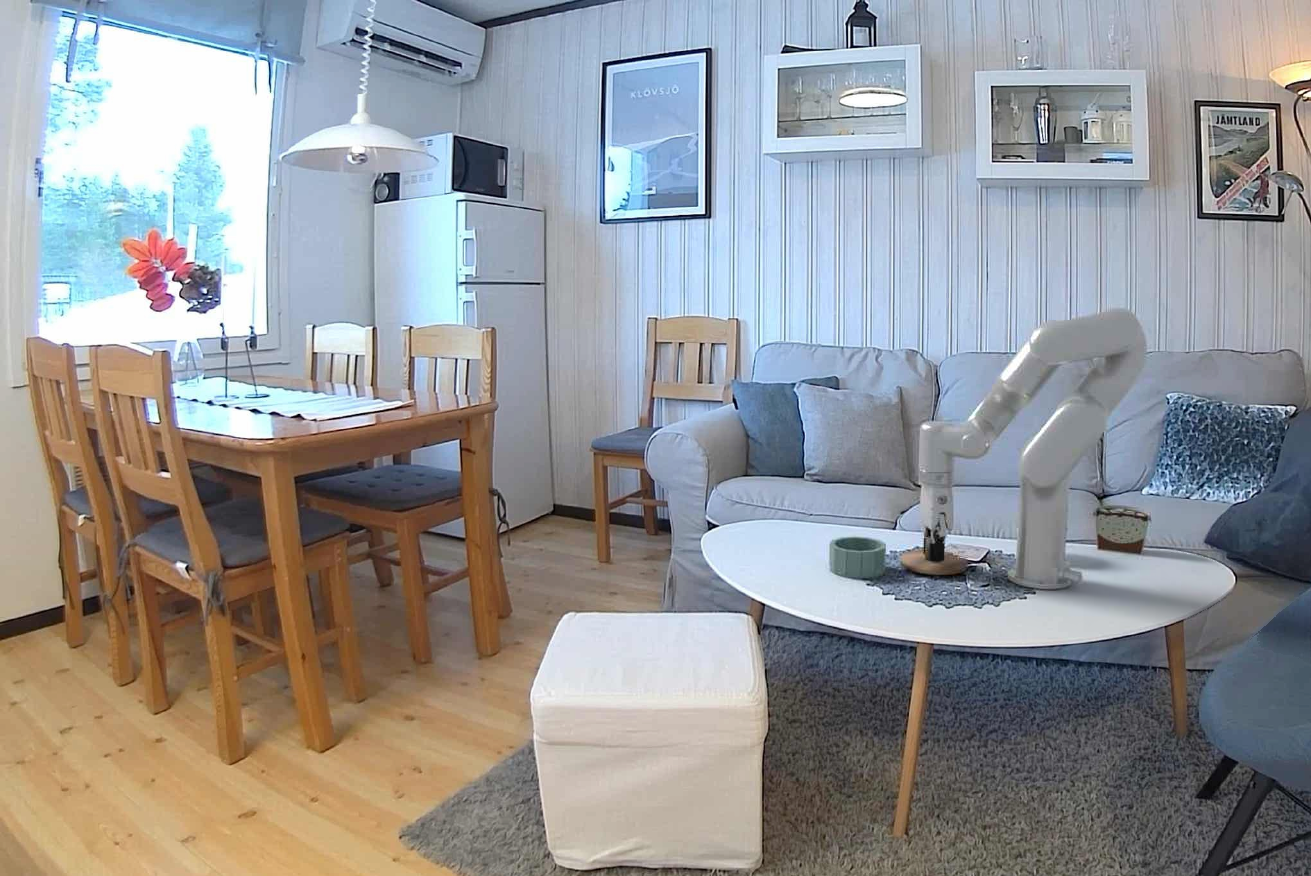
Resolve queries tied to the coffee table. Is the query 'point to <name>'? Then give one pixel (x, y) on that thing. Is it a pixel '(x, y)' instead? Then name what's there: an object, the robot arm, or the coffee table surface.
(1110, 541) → the food container
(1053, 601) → the coffee table surface
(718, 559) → the coffee table surface
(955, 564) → the lid
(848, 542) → the bowl
